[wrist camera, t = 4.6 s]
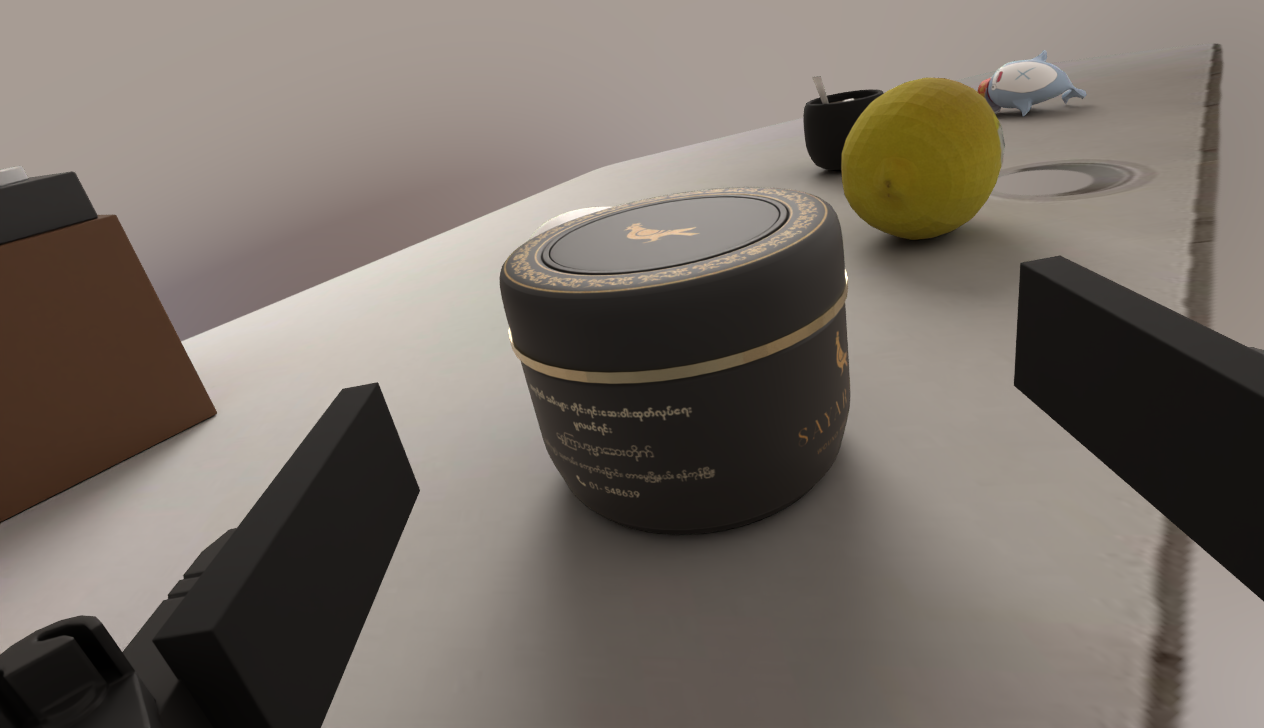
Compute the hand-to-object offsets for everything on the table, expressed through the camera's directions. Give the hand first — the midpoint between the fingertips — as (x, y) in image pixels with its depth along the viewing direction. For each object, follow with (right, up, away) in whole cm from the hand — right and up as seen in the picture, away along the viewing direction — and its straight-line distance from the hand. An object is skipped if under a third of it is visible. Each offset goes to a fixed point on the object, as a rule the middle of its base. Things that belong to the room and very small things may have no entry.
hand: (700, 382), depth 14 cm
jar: (+1, -3, +9) cm, 9 cm away
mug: (+18, +17, +43) cm, 49 cm away
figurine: (+34, +23, +48) cm, 63 cm away
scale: (-30, -4, +19) cm, 36 cm away
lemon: (+15, +8, +24) cm, 30 cm away
